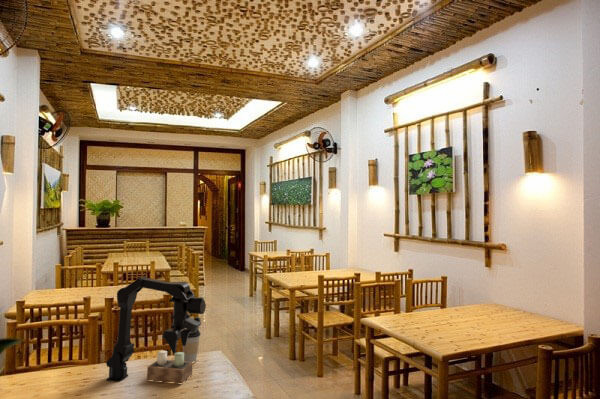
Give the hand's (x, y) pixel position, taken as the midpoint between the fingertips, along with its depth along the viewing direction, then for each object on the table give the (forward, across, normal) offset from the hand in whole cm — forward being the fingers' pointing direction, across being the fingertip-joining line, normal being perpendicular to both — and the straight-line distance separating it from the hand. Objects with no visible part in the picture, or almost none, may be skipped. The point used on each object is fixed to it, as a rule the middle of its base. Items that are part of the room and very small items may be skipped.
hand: (179, 349), depth 174 cm
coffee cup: (+15, +25, +6) cm, 30 cm away
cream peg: (+10, +5, +10) cm, 15 cm away
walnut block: (+15, +5, +6) cm, 17 cm away
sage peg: (+10, +5, +2) cm, 11 cm away
